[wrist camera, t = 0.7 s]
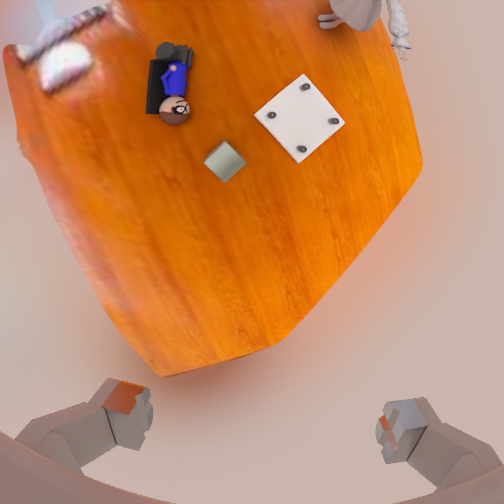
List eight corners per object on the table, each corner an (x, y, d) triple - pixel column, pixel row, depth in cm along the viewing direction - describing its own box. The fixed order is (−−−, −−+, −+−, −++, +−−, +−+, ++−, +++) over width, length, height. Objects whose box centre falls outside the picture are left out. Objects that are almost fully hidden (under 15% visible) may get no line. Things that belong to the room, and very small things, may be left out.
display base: (252, 115, 50) (255, 114, 45) (300, 75, 47) (307, 71, 43) (296, 162, 54) (302, 165, 50) (341, 122, 51) (350, 123, 47)
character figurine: (197, 48, 43) (188, 125, 50) (157, 48, 42) (149, 124, 48) (198, 37, 36) (187, 125, 43) (152, 36, 35) (141, 125, 41)
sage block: (206, 156, 52) (203, 163, 43) (224, 139, 51) (225, 142, 42) (223, 173, 53) (224, 183, 44) (241, 156, 53) (246, 163, 43)
